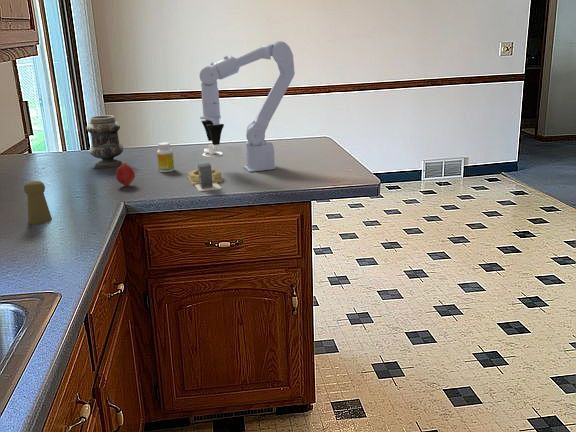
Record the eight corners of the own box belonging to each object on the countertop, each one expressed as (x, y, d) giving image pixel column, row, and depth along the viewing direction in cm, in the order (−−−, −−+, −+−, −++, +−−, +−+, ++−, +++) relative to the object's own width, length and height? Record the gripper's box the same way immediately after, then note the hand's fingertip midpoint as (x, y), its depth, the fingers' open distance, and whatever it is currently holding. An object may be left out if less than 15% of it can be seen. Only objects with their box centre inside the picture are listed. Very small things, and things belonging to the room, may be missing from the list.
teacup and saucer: (202, 153, 238) (201, 143, 237) (222, 151, 239) (222, 141, 238) (202, 158, 230) (201, 147, 229) (222, 156, 231) (222, 146, 229)
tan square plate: (216, 174, 203) (216, 172, 203) (223, 181, 194) (223, 179, 194) (187, 178, 200) (187, 175, 200) (192, 185, 191) (192, 183, 191)
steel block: (199, 185, 189) (197, 164, 187) (210, 184, 190) (208, 163, 188) (201, 188, 186) (199, 166, 184) (212, 187, 187) (211, 165, 185)
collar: (216, 172, 203) (216, 167, 202) (223, 179, 194) (222, 174, 193) (187, 175, 200) (186, 170, 199) (192, 183, 191) (192, 177, 190)
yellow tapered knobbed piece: (32, 217, 165) (25, 179, 162) (54, 216, 166) (48, 178, 162) (25, 225, 160) (17, 185, 156) (48, 223, 160) (41, 184, 156)
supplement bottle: (170, 172, 208) (168, 145, 205) (156, 172, 209) (153, 145, 206) (176, 168, 213) (174, 141, 210) (162, 168, 214) (159, 141, 211)
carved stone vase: (124, 159, 230) (118, 112, 224) (126, 166, 219) (120, 117, 213) (91, 162, 226) (84, 115, 221) (91, 170, 216) (84, 120, 210)
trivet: (216, 183, 193) (216, 182, 192) (221, 189, 186) (221, 187, 186) (195, 186, 190) (194, 184, 190) (199, 191, 184) (199, 190, 184)
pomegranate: (119, 189, 190) (116, 165, 187) (115, 185, 195) (112, 161, 192) (137, 186, 192) (134, 162, 190) (133, 182, 197) (130, 159, 194)
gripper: (195, 101, 207) (198, 139, 211) (203, 106, 194) (206, 147, 198) (215, 99, 209) (217, 138, 213) (224, 104, 196) (227, 145, 200)
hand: (213, 142), depth 206 cm, fingers open, 7 cm apart
